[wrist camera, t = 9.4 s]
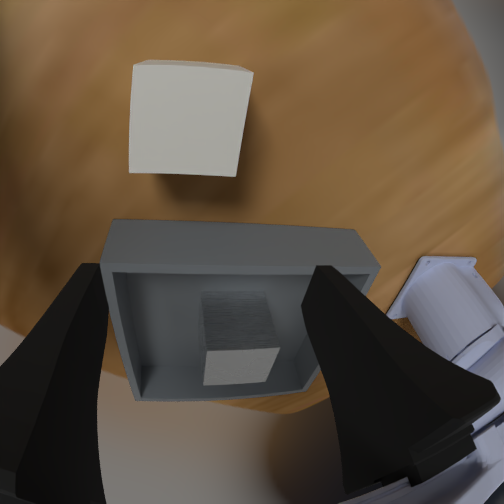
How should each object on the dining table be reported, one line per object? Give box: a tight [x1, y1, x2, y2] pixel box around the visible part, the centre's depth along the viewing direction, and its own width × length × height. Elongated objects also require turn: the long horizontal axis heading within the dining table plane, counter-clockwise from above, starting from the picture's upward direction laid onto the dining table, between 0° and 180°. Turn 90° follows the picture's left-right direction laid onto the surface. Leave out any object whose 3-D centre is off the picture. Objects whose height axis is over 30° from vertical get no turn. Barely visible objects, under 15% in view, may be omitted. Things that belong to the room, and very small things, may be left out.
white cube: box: [129, 60, 254, 177], centre depth 12 cm, size 4×4×4 cm
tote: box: [100, 219, 381, 401], centre depth 22 cm, size 16×16×4 cm
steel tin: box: [198, 291, 280, 386], centre depth 21 cm, size 4×4×5 cm
